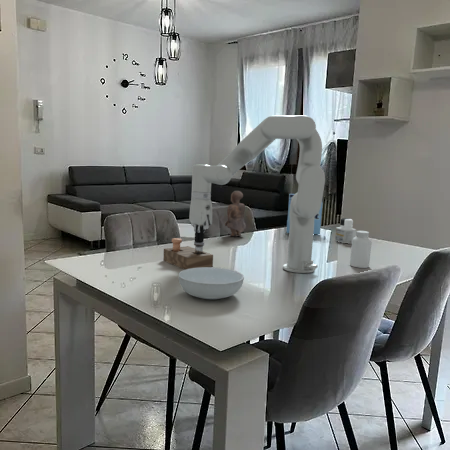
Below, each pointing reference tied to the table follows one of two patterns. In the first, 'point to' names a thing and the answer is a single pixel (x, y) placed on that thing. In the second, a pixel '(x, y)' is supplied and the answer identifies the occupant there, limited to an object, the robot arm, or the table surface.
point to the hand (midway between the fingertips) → (198, 241)
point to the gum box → (316, 218)
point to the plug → (199, 247)
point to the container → (345, 231)
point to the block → (188, 258)
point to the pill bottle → (360, 250)
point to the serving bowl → (210, 282)
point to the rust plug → (176, 244)
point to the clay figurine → (236, 214)
